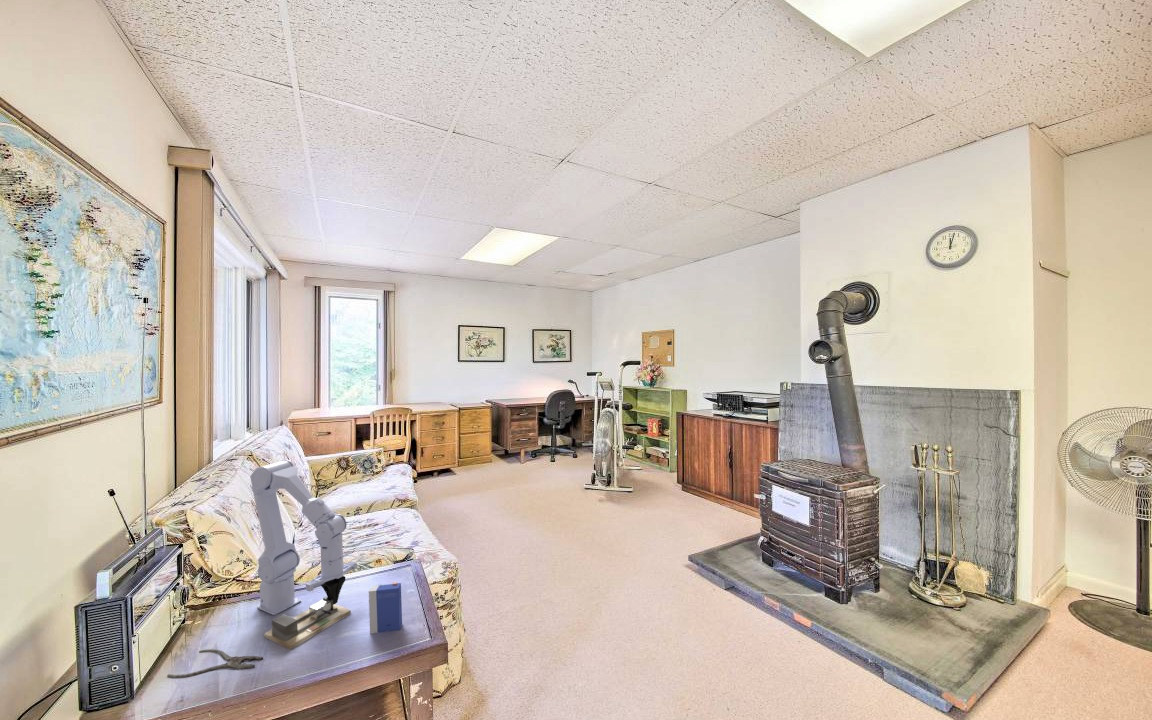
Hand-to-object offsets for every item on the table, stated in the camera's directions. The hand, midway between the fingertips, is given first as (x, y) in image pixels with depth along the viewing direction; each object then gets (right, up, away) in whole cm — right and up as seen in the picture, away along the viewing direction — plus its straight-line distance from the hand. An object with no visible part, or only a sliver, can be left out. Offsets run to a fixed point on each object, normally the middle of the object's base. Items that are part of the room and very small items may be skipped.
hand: (333, 602), depth 126 cm
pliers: (-16, -4, -20) cm, 26 cm away
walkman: (+20, -2, -9) cm, 22 cm away
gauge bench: (-3, -3, -6) cm, 8 cm away
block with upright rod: (0, -1, -4) cm, 4 cm away
